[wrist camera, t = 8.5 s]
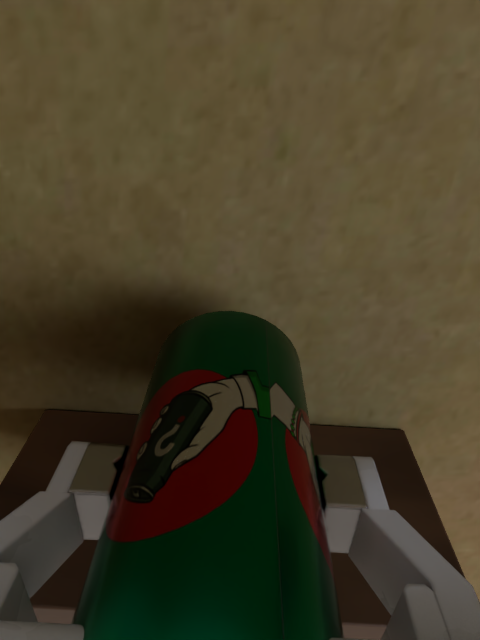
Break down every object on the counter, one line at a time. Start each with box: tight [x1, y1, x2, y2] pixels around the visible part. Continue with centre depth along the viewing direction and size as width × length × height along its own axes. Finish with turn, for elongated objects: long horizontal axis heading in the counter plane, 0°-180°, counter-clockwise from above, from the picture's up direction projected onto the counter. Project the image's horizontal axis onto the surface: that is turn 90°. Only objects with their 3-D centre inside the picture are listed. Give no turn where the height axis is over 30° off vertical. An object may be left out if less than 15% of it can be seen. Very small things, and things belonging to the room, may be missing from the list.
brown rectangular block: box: [0, 410, 465, 640], centre depth 17 cm, size 16×5×8 cm, turn 87°
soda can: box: [71, 311, 344, 640], centre depth 11 cm, size 5×5×12 cm
